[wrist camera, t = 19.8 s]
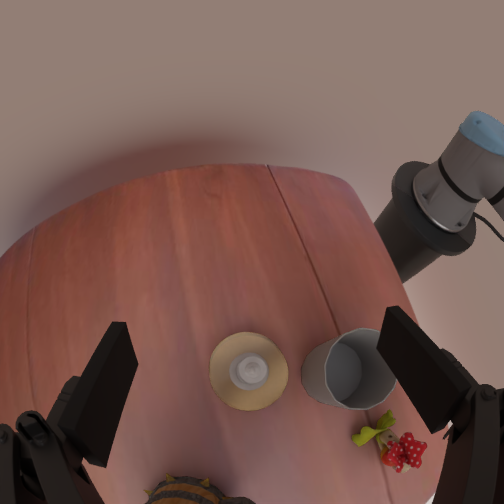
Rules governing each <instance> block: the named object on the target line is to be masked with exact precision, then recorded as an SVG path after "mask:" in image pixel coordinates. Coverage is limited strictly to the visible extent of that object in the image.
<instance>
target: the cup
mask: <svg viewBox="0 0 504 504" xmlns="http://www.w3.org/2000/svg"><path fill="white" fill-rule="evenodd" d="M379 336H380V332H379V331H378V330H376V329H368V328H358V329H355V330H352V331H350V332H347V333H344V334H342V335H340V336H338V337H336V338H334V339H331V340H329V341H327V342H325V343H323V344H320V345H318V346H316V347H315V348H314V349H313V350H312V351H311V352H310V353H309V354H308V355H307V356H306V358H305V361H304V363H303V366H302V368H301V377H302V384H303V386H304V388H305V390H306V391H307V393H308V395H309V396H311V397H312V398H314V399H316V400H317V401H319V402H321V403H324V404H328V405H332V406H336V407H341V408H345V409H349V410H368V409H370V408H372V407H374V406H376V405H378V404H380V403H382V402H384V400H385V399H386V398H387V397H388V396H389V394H390V393H391V392H392V391H393V390H394V388H395V385H396V382H397V379H396V377H395V376H394V374H393V373H392V371H391V370H390V368H389V367H388V365H387V364H386V362H385V361H384V359H383V358H382V356H381V355H380V354H379V352H378V351H377V349H376V346H377V343H378V339H379Z"/></svg>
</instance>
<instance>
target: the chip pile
mask: <svg viewBox="0 0 504 504" xmlns="http://www.w3.org/2000/svg"><path fill="white" fill-rule="evenodd" d="M243 353H255V354H258V355H260V356H261V357H262V358H264V360H265V361H266V362H267V365H268V367H269V375H268V378H267V381H266V382H265V383H264V384H263V385H262V386H261V387H260V388H257V389H255V390H243V389H241V388H238V387H237V386H236V385H235V384H234V383H233V382H232V380H231V378H230V374H229V369H230V365H231V363H232V361H233V360H234V359H235V358H236V357H237V356H239V355H240V354H243ZM209 375H210V382H211V385H212V388H213V390H214V392H215V393H216V395H217V396H218V397H219V398H220V399H221V400H222V401H223V402H224V403H225V404H227V405H229V406H230V407H233V408H235V409H238V410H243V411H255V410H260V409H263V408H265V407H267V406H269V405H271V404H272V403H274V402H275V401H276V400H277V399H278V398H279V397H280V396H281V394H282V393H283V391H284V389H285V387H286V384H287V381H288V366H287V362H286V360H285V357H284V356H283V354H282V352H281V351H280V349H279V348H278V347H277V345H276V344H275V343H274V342H273V341H271V340H270V339H269V338H267V337H265V336H263V335H261V334H258V333H253V332H241V333H236V334H233V335H231V336H229V337H227V338H225V339H224V340H223V341H221V342H220V343H219V344H218V345H217V347H216V348H215V349H214V351H213V353H212V355H211V358H210V362H209Z"/></svg>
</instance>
